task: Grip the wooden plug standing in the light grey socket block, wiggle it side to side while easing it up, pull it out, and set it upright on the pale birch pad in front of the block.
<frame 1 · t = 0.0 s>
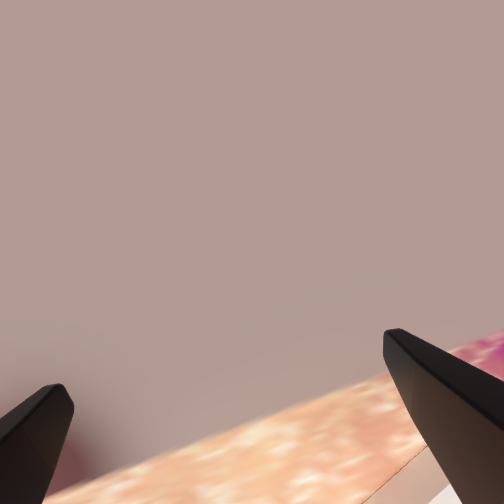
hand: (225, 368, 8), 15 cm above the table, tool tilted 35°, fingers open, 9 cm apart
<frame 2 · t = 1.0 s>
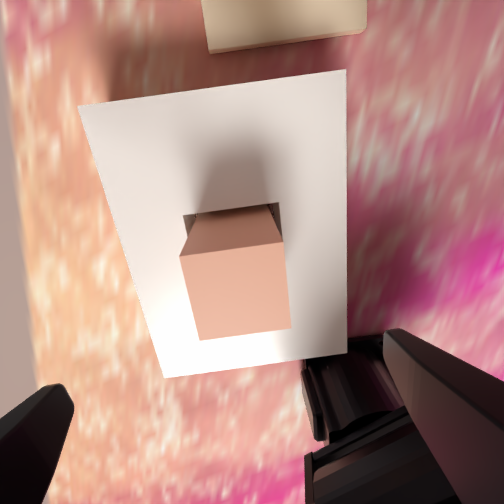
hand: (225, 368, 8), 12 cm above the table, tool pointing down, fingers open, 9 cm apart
socket block: (237, 232, 19), on the table
plug: (237, 256, 16), in the socket block
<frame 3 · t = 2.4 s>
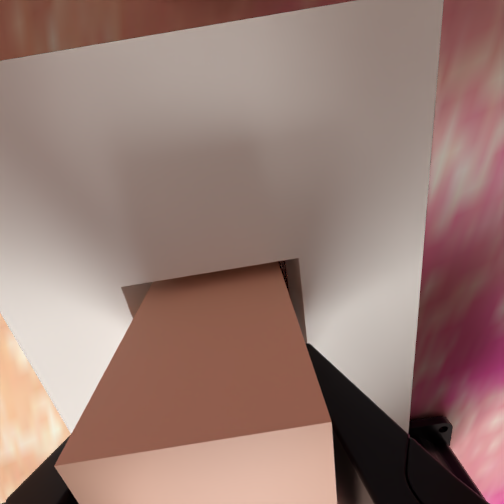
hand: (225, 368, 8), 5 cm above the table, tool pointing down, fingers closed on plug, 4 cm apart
socket block: (228, 287, 12), on the table
plug: (225, 354, 9), in the socket block, touching gripper
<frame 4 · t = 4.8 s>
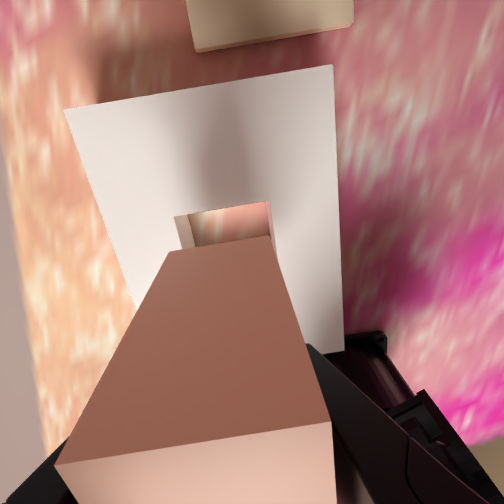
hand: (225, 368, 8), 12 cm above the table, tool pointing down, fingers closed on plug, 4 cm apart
socket block: (231, 232, 19), on the table
plug: (225, 354, 9), point 11 cm above the table, touching gripper
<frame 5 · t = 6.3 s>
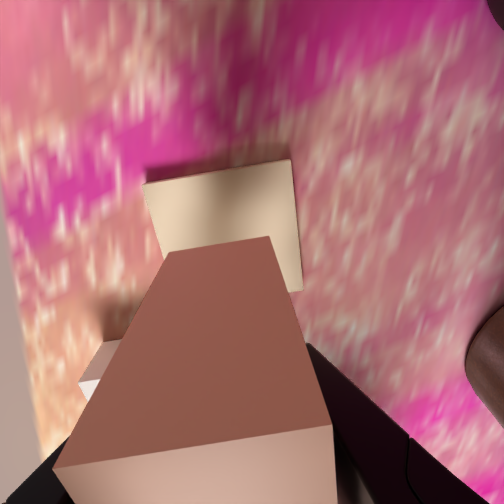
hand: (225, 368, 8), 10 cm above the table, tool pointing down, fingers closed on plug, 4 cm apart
socket block: (212, 409, 23), on the table
plug: (225, 355, 9), point 10 cm above the table, touching gripper
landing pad: (230, 237, 18), on the table
when the fingers open (7 cm above the table, at t = 7.3 s): plug drops 1 cm, resting on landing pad.
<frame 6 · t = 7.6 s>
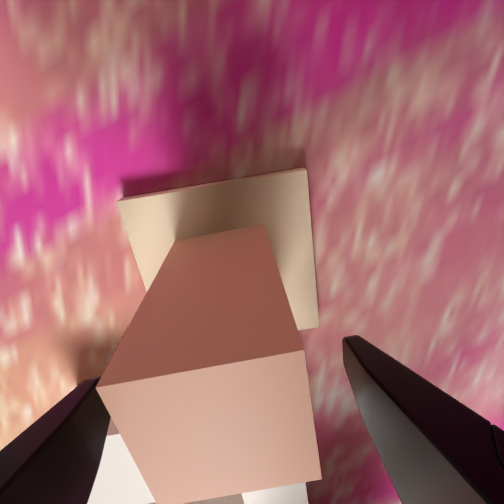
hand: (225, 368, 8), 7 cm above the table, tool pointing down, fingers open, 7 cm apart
socket block: (209, 458, 20), on the table
plug: (226, 324, 10), on the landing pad, point 5 cm above the table
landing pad: (229, 264, 14), on the table
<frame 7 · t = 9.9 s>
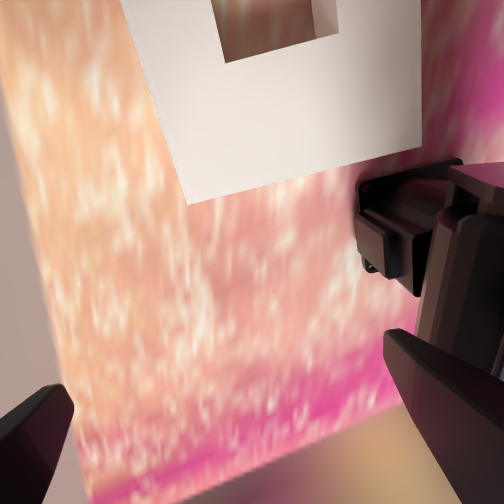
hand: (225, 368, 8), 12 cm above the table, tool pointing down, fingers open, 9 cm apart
socket block: (261, 8, 15), on the table
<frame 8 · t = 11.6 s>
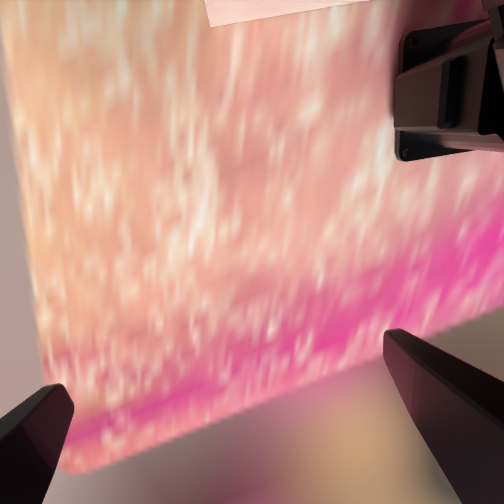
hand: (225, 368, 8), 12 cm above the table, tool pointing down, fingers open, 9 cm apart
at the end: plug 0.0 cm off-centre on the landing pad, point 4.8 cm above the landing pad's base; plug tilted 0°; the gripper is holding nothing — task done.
